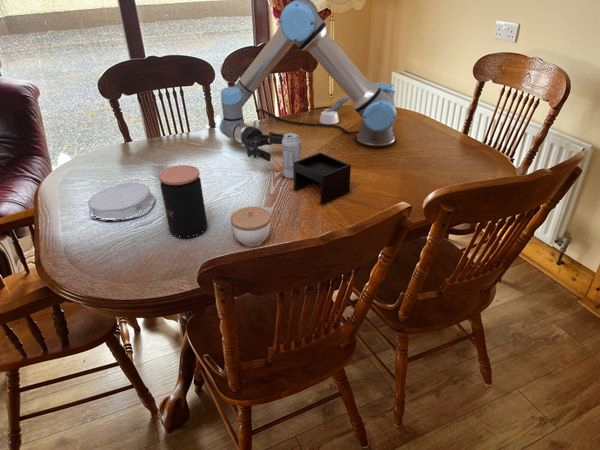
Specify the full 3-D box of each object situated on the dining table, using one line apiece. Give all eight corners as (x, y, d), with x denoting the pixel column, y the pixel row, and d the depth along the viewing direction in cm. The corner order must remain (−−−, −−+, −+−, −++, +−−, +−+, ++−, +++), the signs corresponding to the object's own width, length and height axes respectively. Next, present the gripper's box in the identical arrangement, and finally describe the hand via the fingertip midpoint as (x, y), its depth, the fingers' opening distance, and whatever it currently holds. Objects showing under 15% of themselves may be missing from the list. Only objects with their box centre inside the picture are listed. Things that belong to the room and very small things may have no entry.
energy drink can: (304, 176, 158) (303, 135, 150) (292, 181, 155) (290, 140, 147) (291, 171, 162) (290, 131, 154) (279, 176, 158) (277, 136, 150)
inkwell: (315, 120, 207) (315, 98, 202) (346, 113, 215) (347, 92, 209) (326, 126, 200) (326, 103, 195) (358, 118, 208) (359, 97, 203)
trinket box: (277, 233, 127) (276, 204, 122) (262, 254, 119) (260, 224, 114) (243, 227, 130) (240, 199, 125) (226, 247, 122) (222, 218, 117)
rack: (293, 189, 150) (293, 162, 144) (320, 178, 156) (320, 152, 151) (323, 204, 141) (323, 176, 136) (349, 192, 147) (350, 165, 142)
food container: (118, 230, 130) (112, 210, 126) (75, 213, 139) (69, 193, 136) (169, 201, 144) (165, 182, 141) (127, 187, 153) (122, 168, 150)
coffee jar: (173, 221, 134) (162, 165, 125) (209, 219, 135) (201, 163, 125) (167, 241, 125) (155, 183, 116) (206, 238, 126) (197, 181, 116)
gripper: (275, 136, 178) (311, 152, 165) (222, 154, 165) (256, 172, 151) (274, 118, 174) (311, 132, 161) (219, 134, 161) (255, 151, 147)
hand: (285, 152), depth 156 cm, fingers open, 13 cm apart
